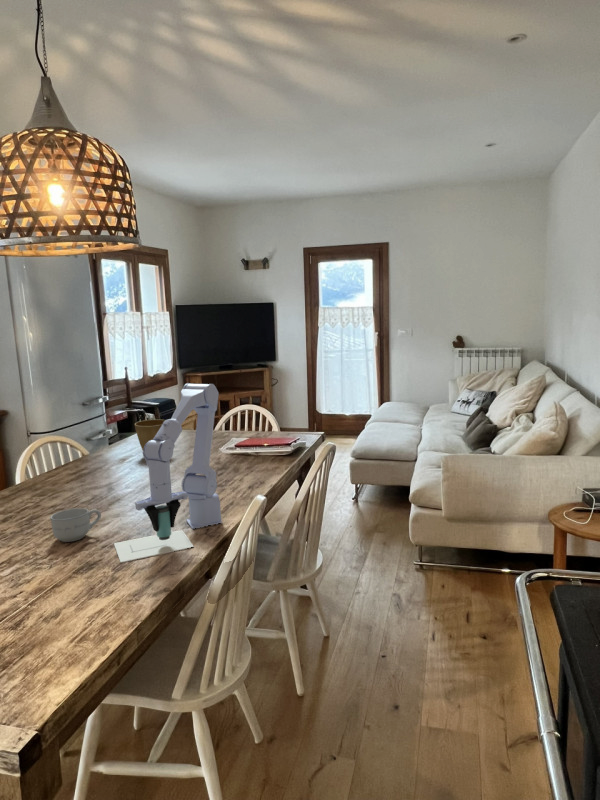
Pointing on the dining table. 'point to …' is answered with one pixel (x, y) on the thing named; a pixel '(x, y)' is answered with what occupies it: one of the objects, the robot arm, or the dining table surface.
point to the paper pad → (151, 546)
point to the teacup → (72, 523)
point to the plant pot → (147, 430)
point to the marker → (164, 522)
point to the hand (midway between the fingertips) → (163, 528)
